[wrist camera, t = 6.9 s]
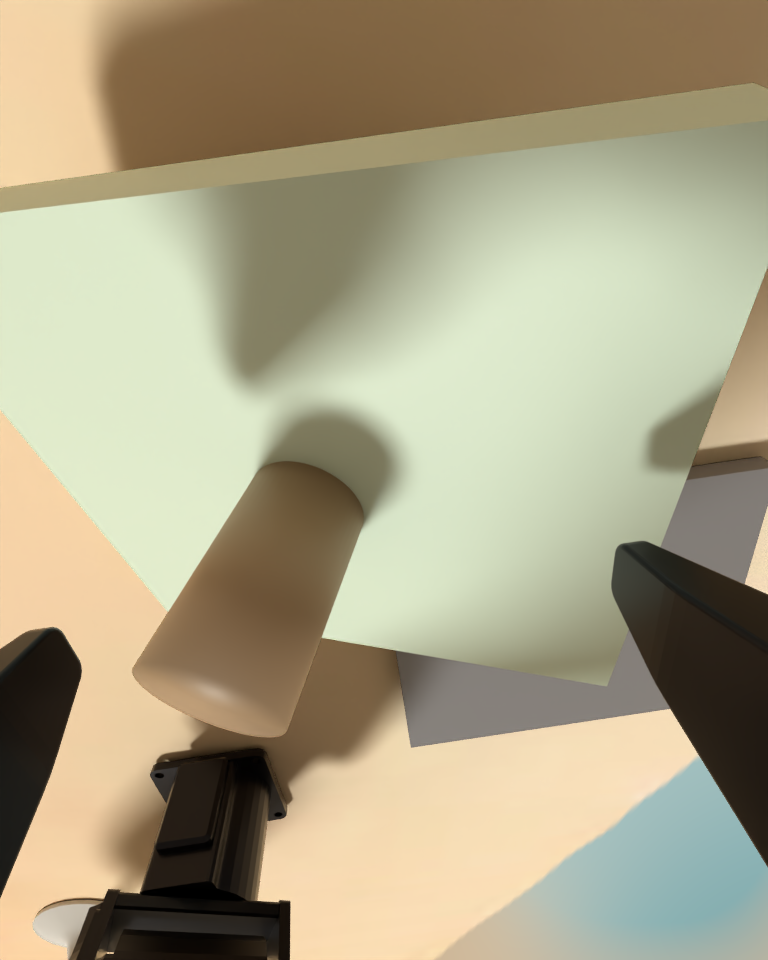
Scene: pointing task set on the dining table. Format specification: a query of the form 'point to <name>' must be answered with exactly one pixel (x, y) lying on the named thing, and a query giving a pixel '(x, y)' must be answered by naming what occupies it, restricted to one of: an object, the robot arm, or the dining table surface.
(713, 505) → the mat
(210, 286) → the lid
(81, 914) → the wineglass
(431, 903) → the dining table surface
